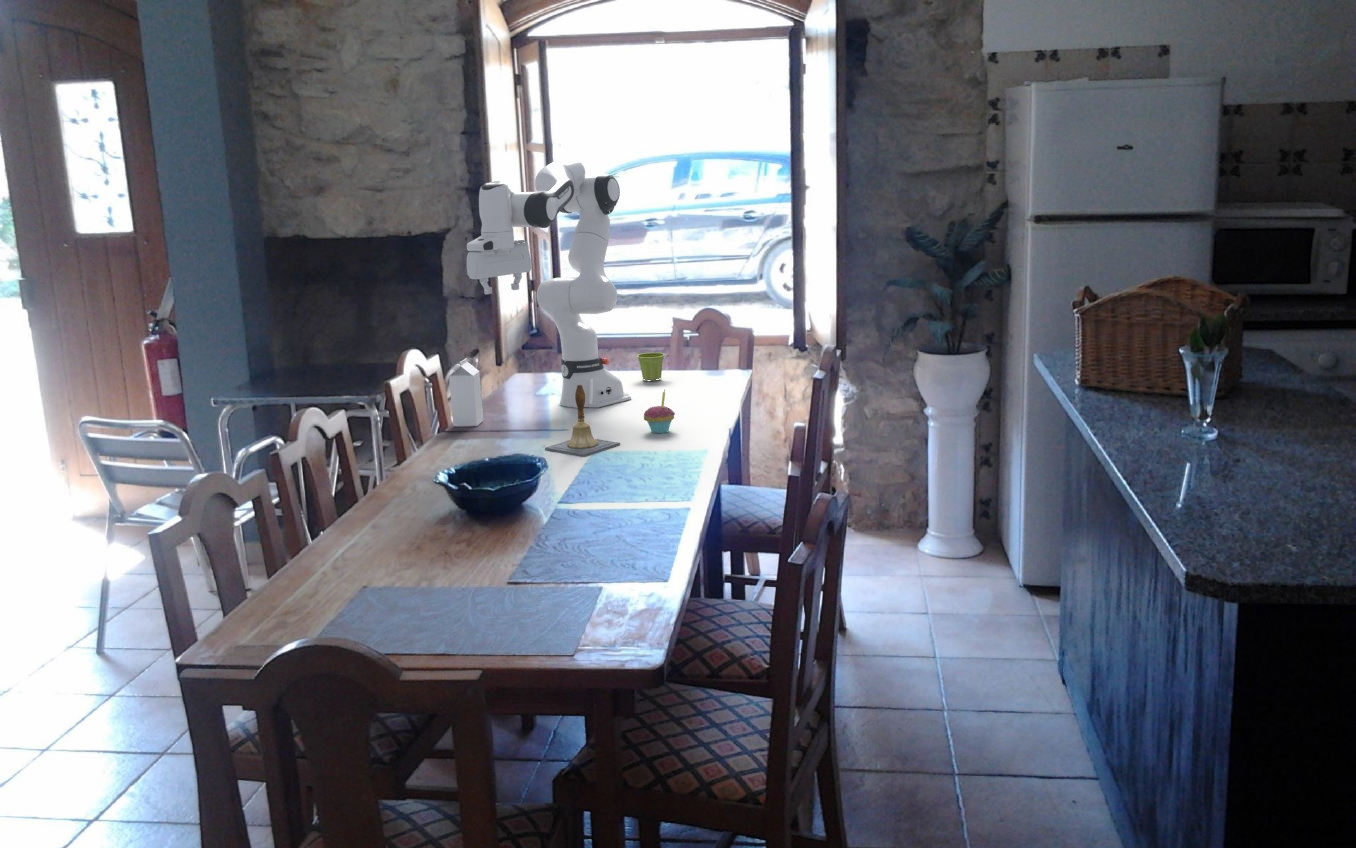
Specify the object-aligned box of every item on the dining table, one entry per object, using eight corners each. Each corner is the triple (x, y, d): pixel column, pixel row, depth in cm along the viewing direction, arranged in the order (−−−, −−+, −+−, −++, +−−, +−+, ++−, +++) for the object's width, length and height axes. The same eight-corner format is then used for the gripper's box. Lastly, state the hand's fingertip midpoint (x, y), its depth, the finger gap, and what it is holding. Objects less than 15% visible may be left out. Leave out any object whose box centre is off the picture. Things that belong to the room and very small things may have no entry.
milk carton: (483, 421, 343) (478, 357, 338) (477, 426, 336) (472, 361, 331) (460, 421, 343) (454, 358, 339) (453, 427, 337) (447, 362, 332)
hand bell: (566, 441, 311) (563, 383, 307) (597, 439, 312) (594, 381, 308) (567, 449, 303) (563, 389, 299) (599, 447, 304) (595, 387, 300)
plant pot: (655, 383, 389) (654, 358, 387) (632, 381, 394) (631, 356, 392) (671, 378, 396) (670, 353, 394) (648, 376, 401) (647, 351, 400)
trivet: (581, 438, 317) (581, 436, 317) (620, 444, 308) (619, 442, 308) (545, 449, 306) (544, 447, 306) (584, 456, 298) (583, 454, 297)
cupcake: (679, 428, 324) (677, 386, 321) (669, 435, 316) (667, 392, 313) (650, 427, 327) (648, 385, 324) (639, 434, 319) (637, 391, 316)
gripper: (520, 238, 330) (524, 286, 333) (461, 244, 316) (465, 295, 319) (534, 238, 326) (538, 287, 329) (475, 245, 312) (479, 297, 315)
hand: (502, 291), depth 324 cm, fingers open, 8 cm apart
